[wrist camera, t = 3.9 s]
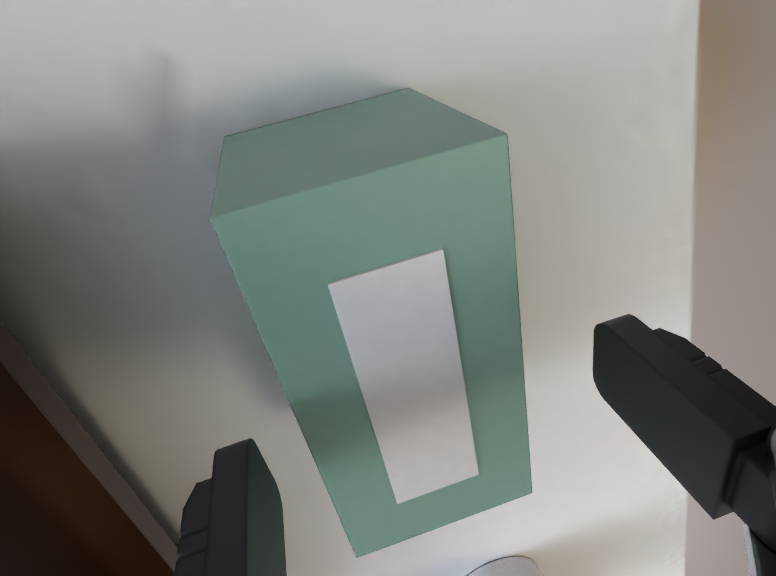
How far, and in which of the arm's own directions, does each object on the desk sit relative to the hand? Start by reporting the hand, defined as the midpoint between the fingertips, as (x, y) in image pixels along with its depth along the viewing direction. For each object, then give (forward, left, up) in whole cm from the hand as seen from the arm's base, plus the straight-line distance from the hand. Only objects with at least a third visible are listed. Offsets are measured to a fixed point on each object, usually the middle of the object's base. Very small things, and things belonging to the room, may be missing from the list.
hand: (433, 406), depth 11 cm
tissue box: (0, 0, -7) cm, 7 cm away
